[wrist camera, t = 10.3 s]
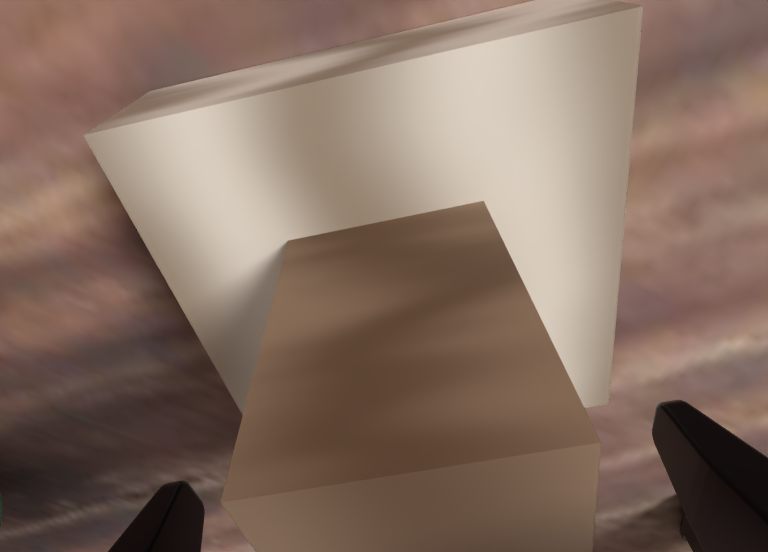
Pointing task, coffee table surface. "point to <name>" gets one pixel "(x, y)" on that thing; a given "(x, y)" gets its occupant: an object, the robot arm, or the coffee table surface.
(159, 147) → the birch block
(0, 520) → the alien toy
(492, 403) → the walnut block
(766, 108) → the coffee table surface
